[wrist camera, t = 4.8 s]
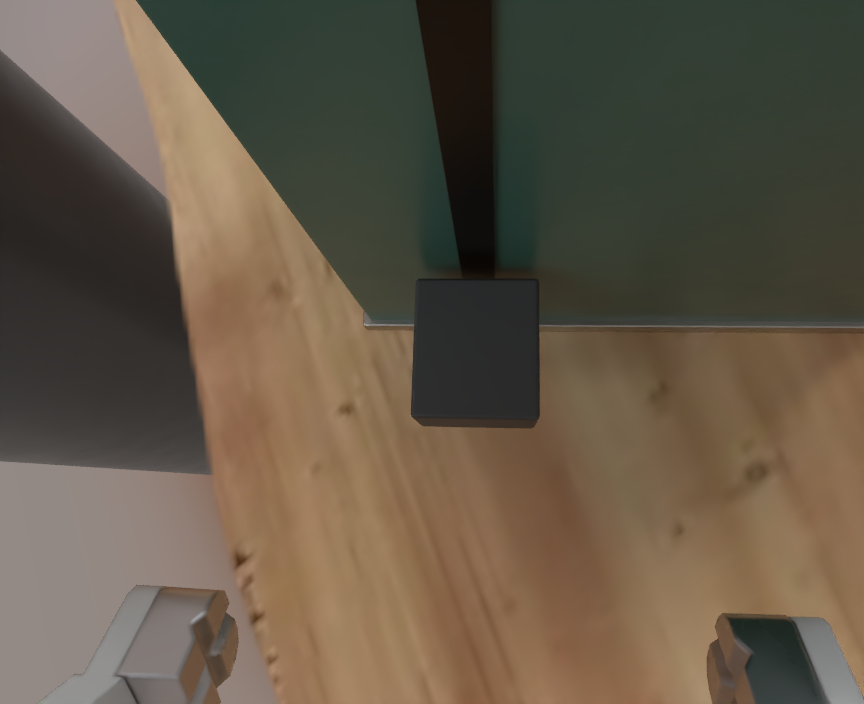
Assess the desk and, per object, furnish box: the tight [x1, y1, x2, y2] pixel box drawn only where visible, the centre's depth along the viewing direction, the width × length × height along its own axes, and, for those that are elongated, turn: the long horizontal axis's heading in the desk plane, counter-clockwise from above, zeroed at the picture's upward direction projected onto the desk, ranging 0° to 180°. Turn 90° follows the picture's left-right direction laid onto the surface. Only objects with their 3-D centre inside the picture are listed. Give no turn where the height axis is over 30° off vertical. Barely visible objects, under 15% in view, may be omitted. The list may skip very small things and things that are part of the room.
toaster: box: [136, 0, 864, 333], centre depth 14 cm, size 8×15×16 cm, turn 88°
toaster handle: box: [411, 279, 540, 428], centre depth 16 cm, size 3×3×2 cm
